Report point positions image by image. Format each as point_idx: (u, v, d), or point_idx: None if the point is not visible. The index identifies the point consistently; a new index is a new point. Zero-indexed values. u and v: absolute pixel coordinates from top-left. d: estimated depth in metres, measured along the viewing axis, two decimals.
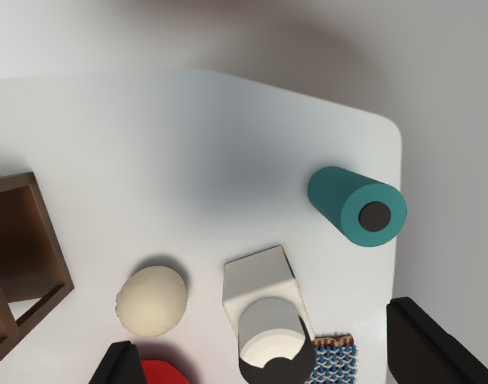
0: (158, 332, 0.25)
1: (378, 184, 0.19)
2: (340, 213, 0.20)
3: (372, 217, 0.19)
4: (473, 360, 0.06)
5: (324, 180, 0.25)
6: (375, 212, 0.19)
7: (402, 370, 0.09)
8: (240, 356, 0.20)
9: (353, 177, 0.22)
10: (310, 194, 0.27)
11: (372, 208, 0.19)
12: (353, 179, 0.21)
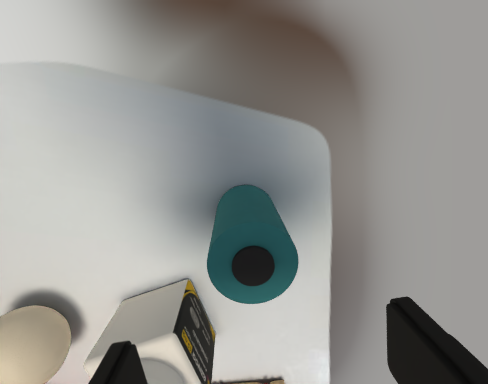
0: None
1: (254, 223, 0.14)
2: (207, 260, 0.14)
3: (248, 267, 0.14)
4: (473, 360, 0.06)
5: (221, 206, 0.20)
6: (252, 261, 0.14)
7: (402, 370, 0.09)
8: None
9: (241, 207, 0.17)
10: None
11: (247, 256, 0.14)
12: (238, 211, 0.16)
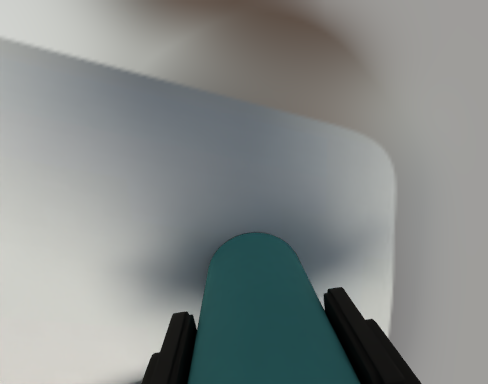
0: None
1: None
2: None
3: None
4: (376, 338, 0.07)
5: (213, 283, 0.11)
6: None
7: None
8: None
9: (253, 316, 0.08)
10: None
11: None
12: (246, 332, 0.07)
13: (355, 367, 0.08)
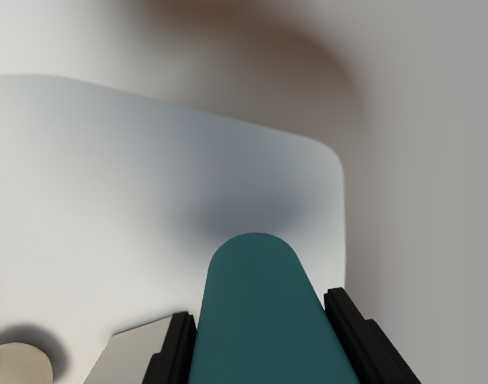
0: None
1: None
2: None
3: None
4: (376, 338, 0.07)
5: (213, 283, 0.11)
6: None
7: None
8: None
9: (252, 315, 0.08)
10: None
11: None
12: (246, 332, 0.07)
13: (355, 367, 0.08)
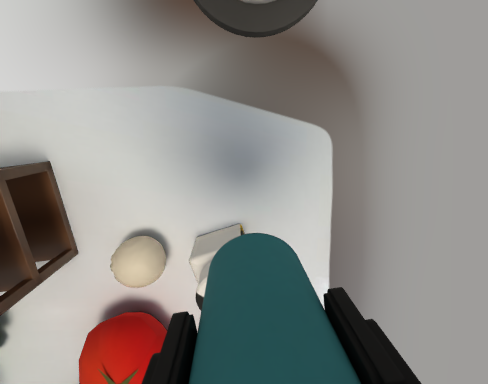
0: (142, 282, 0.33)
1: None
2: None
3: None
4: (375, 338, 0.07)
5: (214, 284, 0.11)
6: None
7: None
8: (196, 292, 0.28)
9: (253, 316, 0.08)
10: None
11: None
12: (247, 333, 0.07)
13: (355, 367, 0.08)
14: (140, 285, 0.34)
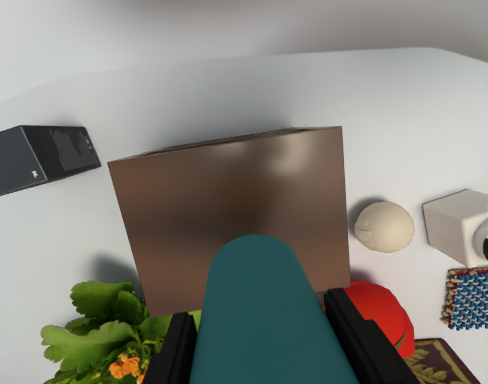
0: (404, 246, 0.33)
1: None
2: None
3: None
4: (375, 339, 0.07)
5: (214, 285, 0.11)
6: None
7: None
8: None
9: (253, 319, 0.08)
10: None
11: None
12: (247, 336, 0.07)
13: (355, 367, 0.08)
14: (399, 249, 0.33)
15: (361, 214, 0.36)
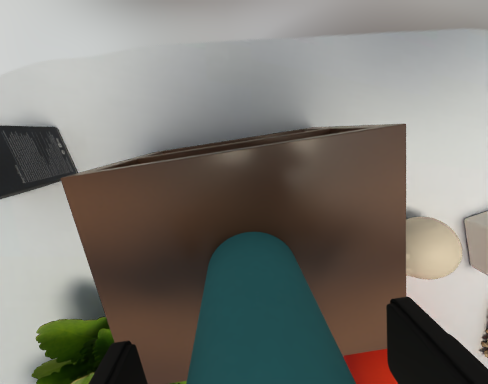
0: (450, 272, 0.27)
1: None
2: None
3: None
4: (473, 360, 0.06)
5: (213, 280, 0.11)
6: None
7: (402, 370, 0.09)
8: None
9: (249, 308, 0.08)
10: None
11: None
12: (243, 323, 0.08)
13: None
14: (444, 276, 0.27)
15: None
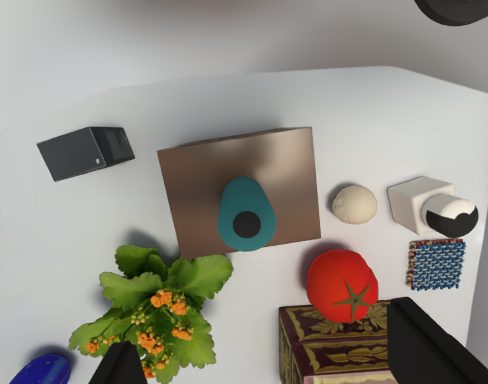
0: (368, 218, 0.43)
1: (247, 196, 0.22)
2: (217, 221, 0.22)
3: (244, 225, 0.22)
4: (473, 360, 0.06)
5: (225, 190, 0.27)
6: (246, 221, 0.22)
7: (402, 370, 0.09)
8: (440, 215, 0.38)
9: (239, 189, 0.24)
10: None
11: (243, 217, 0.22)
12: (237, 191, 0.24)
13: None
14: (365, 220, 0.43)
15: (337, 195, 0.46)
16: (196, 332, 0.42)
